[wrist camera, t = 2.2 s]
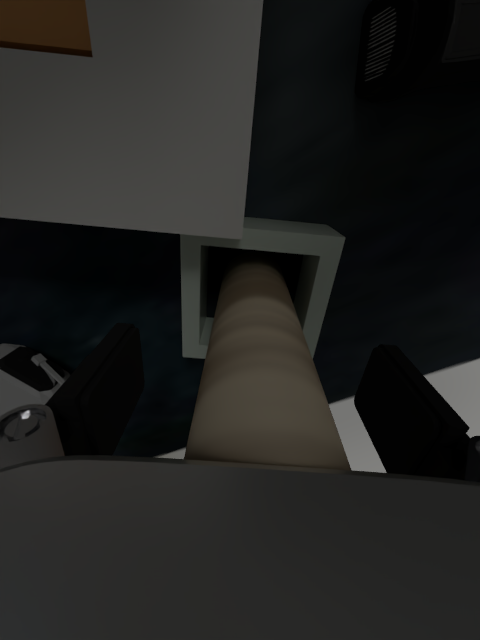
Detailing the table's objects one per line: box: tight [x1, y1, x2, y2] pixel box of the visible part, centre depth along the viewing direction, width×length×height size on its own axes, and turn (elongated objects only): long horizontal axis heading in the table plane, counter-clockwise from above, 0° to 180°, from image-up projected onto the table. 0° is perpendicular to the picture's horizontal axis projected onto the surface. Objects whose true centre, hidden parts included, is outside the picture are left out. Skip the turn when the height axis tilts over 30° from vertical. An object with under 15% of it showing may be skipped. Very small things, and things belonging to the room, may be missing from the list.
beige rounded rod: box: [184, 252, 351, 471], centre depth 12 cm, size 4×4×14 cm
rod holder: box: [180, 217, 346, 359], centre depth 16 cm, size 8×8×4 cm
